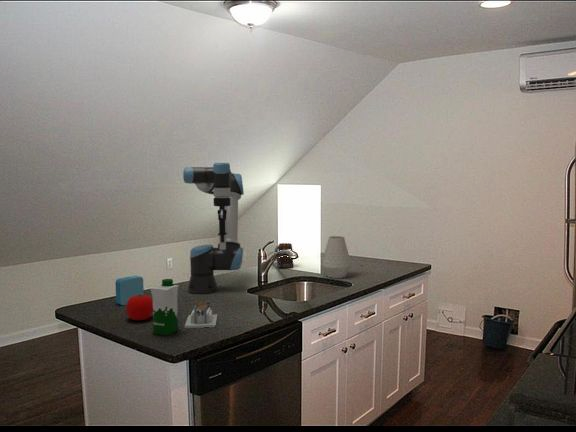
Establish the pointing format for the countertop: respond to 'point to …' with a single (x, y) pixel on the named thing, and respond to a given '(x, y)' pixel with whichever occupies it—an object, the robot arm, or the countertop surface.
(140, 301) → the tomato
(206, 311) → the base
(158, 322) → the milk carton
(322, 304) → the countertop surface
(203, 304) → the wooden bar
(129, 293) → the light blue flat block
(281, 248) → the mug
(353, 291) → the countertop surface
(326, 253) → the vase
